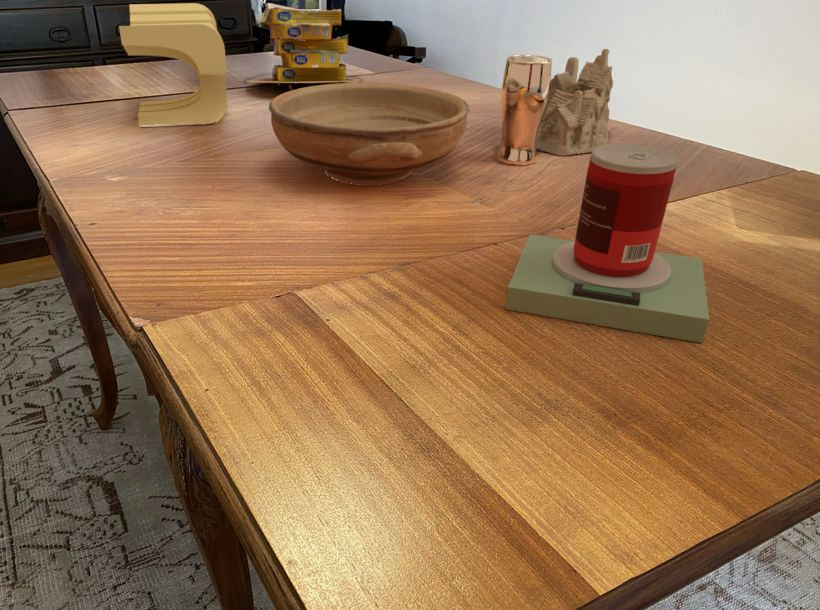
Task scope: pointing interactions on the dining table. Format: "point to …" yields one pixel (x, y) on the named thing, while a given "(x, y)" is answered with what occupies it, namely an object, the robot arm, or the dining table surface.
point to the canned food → (623, 208)
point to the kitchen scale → (611, 292)
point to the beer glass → (523, 106)
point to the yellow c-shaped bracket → (180, 58)
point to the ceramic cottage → (577, 108)
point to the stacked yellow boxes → (305, 45)
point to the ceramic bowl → (368, 128)
